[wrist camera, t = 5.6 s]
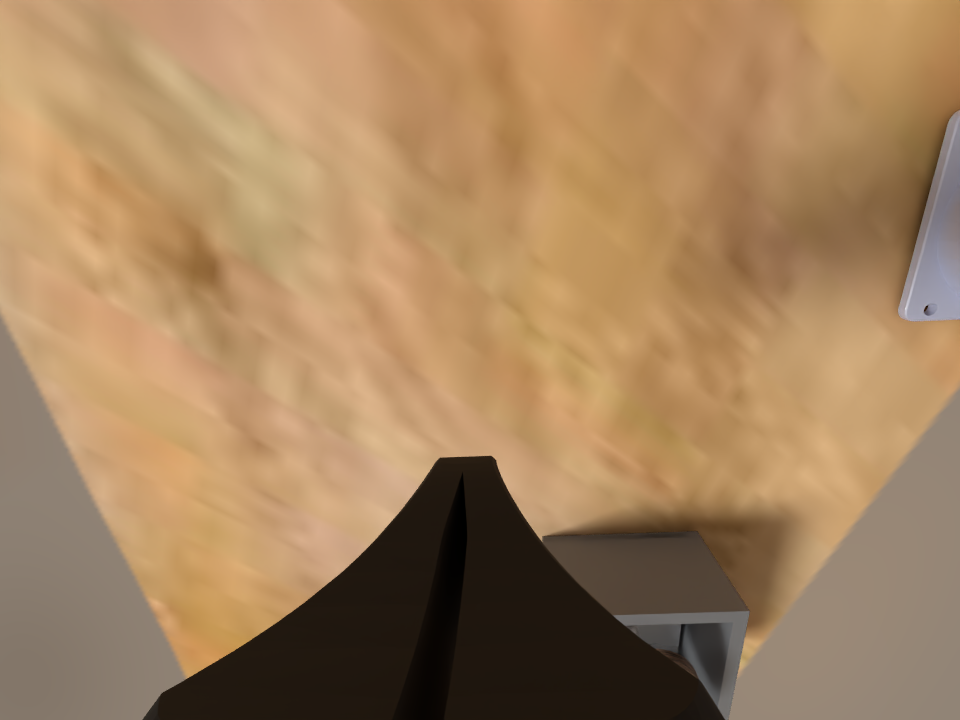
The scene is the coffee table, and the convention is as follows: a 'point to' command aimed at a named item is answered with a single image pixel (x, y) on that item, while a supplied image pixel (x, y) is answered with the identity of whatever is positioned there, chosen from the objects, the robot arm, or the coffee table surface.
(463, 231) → the coffee table surface
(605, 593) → the open grey square tray
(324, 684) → the robot arm
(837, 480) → the coffee table surface
